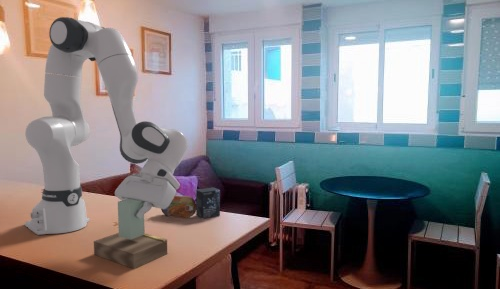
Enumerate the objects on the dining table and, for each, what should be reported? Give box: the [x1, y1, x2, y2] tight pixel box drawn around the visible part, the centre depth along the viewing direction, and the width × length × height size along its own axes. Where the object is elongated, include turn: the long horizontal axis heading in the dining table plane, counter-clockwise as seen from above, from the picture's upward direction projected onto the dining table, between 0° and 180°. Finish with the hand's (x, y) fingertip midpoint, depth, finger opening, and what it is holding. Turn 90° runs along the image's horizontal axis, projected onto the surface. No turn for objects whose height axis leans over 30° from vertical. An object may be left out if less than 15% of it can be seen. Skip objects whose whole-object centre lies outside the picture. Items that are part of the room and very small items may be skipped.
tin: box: [160, 194, 196, 219], centre depth 143 cm, size 15×3×8 cm, turn 69°
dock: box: [93, 232, 168, 269], centre depth 106 cm, size 17×12×4 cm
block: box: [117, 199, 146, 239], centre depth 105 cm, size 5×5×10 cm
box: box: [195, 187, 221, 220], centre depth 144 cm, size 8×6×11 cm
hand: (129, 215), depth 105 cm, fingers closed on block, 5 cm apart
